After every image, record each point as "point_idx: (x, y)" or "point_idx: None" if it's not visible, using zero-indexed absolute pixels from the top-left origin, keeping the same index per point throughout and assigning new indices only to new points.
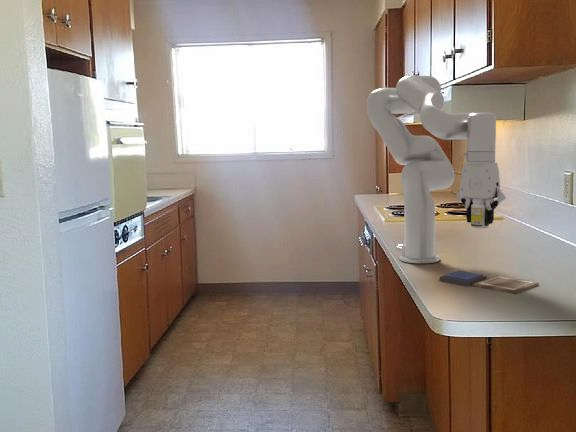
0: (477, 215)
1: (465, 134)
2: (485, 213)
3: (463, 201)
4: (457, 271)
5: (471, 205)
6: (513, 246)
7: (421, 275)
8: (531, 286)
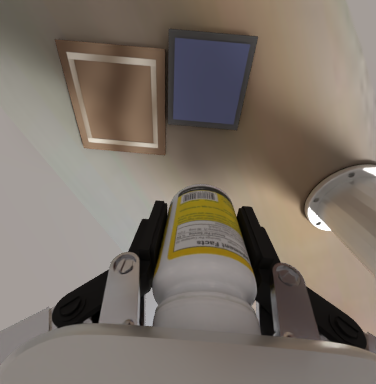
0: (195, 217)
1: None
2: (153, 234)
3: (333, 318)
4: (232, 111)
5: (252, 280)
6: None
7: (315, 67)
8: (77, 119)
